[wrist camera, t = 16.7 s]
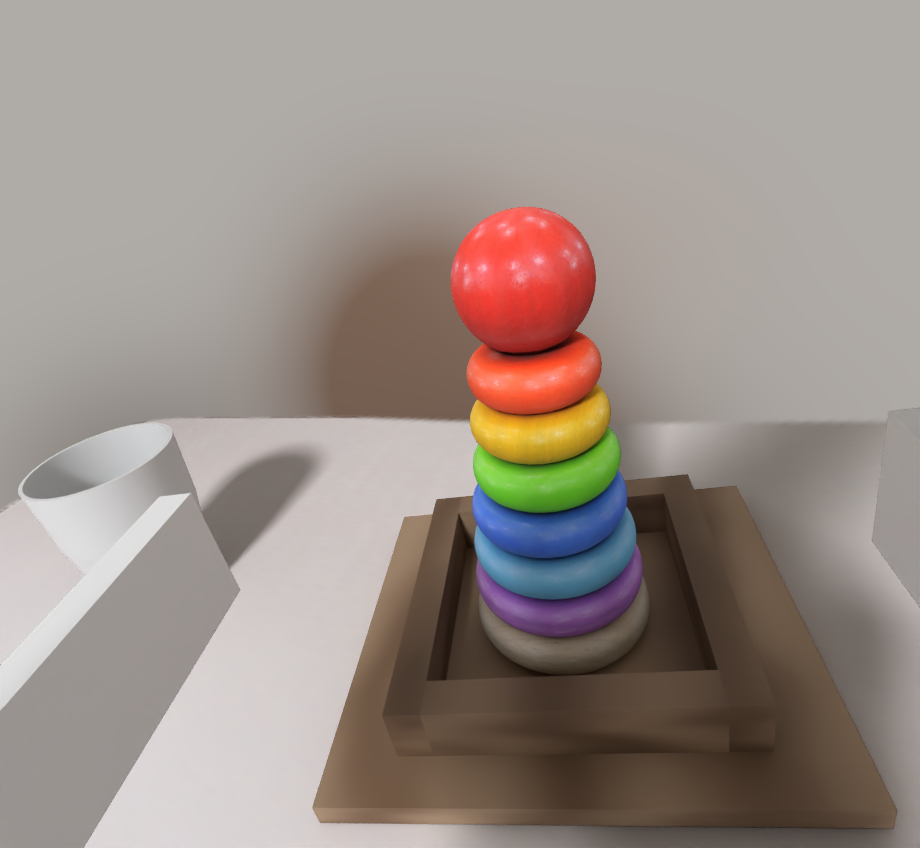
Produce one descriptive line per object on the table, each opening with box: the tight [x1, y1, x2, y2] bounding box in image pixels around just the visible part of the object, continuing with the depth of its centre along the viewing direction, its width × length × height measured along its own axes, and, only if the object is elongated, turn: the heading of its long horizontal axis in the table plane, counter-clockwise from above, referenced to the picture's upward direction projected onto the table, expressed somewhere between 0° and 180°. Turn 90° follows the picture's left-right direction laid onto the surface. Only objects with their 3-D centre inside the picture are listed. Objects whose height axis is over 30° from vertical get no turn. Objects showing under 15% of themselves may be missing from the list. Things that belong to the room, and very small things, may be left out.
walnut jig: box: [312, 474, 897, 828], centre depth 28 cm, size 20×18×4 cm
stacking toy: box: [451, 207, 650, 675], centre depth 25 cm, size 8×8×19 cm
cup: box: [18, 423, 202, 575], centre depth 36 cm, size 8×8×10 cm
